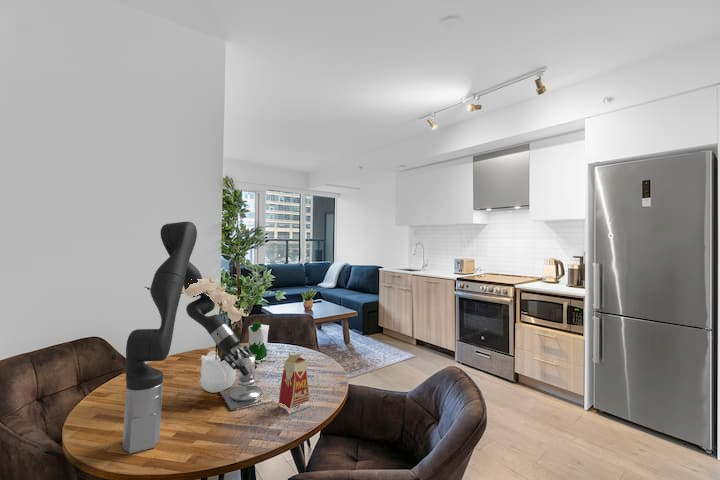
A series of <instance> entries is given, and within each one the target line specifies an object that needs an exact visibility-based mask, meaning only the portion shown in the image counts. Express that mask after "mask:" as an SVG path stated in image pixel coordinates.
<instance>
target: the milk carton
mask: <svg viewBox="0 0 720 480" xmlns="http://www.w3.org/2000/svg"><path fill="white" fill-rule="evenodd" d="M287 355H288V357H287V359H286V360H285V362H284V365H283V370H282V377H281V382H280V388H279V396H278V404H279V403H282V404H285V405H286V406H287V407H288V408H290V409H291V408H293V407H296V406H298V405H300V404H303V403H305V402H308V401H310V402H311V398H310V397H311V396H310V389H309V388H310V387H309V378H308V368H307V359H304V358H303V357H301V355H302V354H301V353H298V354H297V353H296V354H292V353H287Z"/></svg>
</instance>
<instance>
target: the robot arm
mask: <svg viewBox="0 0 720 480" xmlns="http://www.w3.org/2000/svg"><path fill="white" fill-rule="evenodd" d="M159 235H160V239H161V242H162V244H163V247H164V248H165V250H166V252H167V254H168V256H169V257H168V258H166V260H165V261H163V263H162V264H161V265H160V266H159V267H158V268H157V270H156V271H155V273H154V276H153V279H152V282H151V286H150V287H149V288H150V289H149V292H150V297H151V298H152V301H153V303H154V304H155V306H156V308H157V310H158V312H159V315H160V319H161V320H160V327H159V328H141V329H139V328H138V329H134V330H133V331H131V332H130V333H129V335H128V336H127V340H126V345H125V346H126V347H125V380H126V381H125V382H126V383H125V398H124V399H125V400H124V414H123V432H122V450H123V451H125V452H128V454H129V455H131V454H134V453H137V452H138V453H139V452H143V451H146V450H149V449H154V448H155V447H156V445H157V444H158V443H159V441H160V439H161V438H160V437H161V423H162V422H161V420H162V403H163V402H162V401H163V388H164V387H163V386H164V373H163V371H161V370H160V369H158V368H155V367H151V366H150V365H148V364H147V363H146V362H162V361H164V360H166V358H167V357H168V356H169V353H170V350H171V347H172V341H173V334H174V330H175V324H176V316H177V313H178V312H177V311H178V307H179V303H180V299H181V295H182V292H183V289H184V291H185V290H186V289H187V288H188V287H189V285H190V284H193V283H197V282H198V280H197V279H203V277H202V274H201V272H200V270H199V269H198V268H197V267H196V266H195V265H194V264H193V263H192V262H191V261H190V259H191V256H192V254H193V251H194V248H195V245H196V241H197V237H198V230H197V227H196V225H195V223H193V222H192V221H179V222H178V221H177V222H171V223H170V222H169V223H166V224H163V225H162V227H161V228H160V233H159ZM191 279H192V280H191ZM188 283H189V284H188ZM196 297H199V298H196ZM192 298H196V299H195V300H193V301H191V302H190V303H188V304H187V305H186V306H185V307H186V309H185V310H186V314H187V315H188V316H189V318H191V319H193V321H195V322H197V323H198V324H199V325H201V326H202V327H203V328H204V329H205V330H206V332H207V333H208V334H209V335H210V337H211V338H212V341H213V342H214V343H215V344H216V345H217V346H218V347H217V348H219V349H220V351H221V352H222V353H223V354H227V355H226V356H225V357H224V358H223V360H224V361H225V363H226V364H228V365H229V366H230V368H231V369H233V370H234V371H235V370H239V373H240V372H241V373H242V374H243V375H244V376H247V375H248V374H249V371H248V370H247V369H246V367H245V366H244V365H243V363H242V361H241V356H243V355H247V354H251V355H253V354H252V353H251V351H250V350H249V348H248V347H249V345H244V346H242V345H241V344H240V342H241V340H240V338H238V336H237V335H236V333H235V332H234V331H233V329H232V328H231V327H230V326H229V325H228V324H227V323H226V322H225V320H224V319H223V318H222V316H221V315H220V314H212V315H209V316H208V314H209V313H210V312H212V311H213V310H214V309H215V306H216V304H215V303H216V302H215V301H214V302H215V303H214V302H213V301H212V300H211V299H210V297H209V296H207V295H206V294H204V293H201V294H199V295H197V296H193V297H192ZM218 330H219V331H218ZM217 333H218V335H217ZM256 369H258V366H257V364H256V363H255V370H256Z"/></svg>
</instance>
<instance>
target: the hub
mask: <svg viewBox="0 0 720 480" xmlns="http://www.w3.org/2000/svg"><path fill="white" fill-rule="evenodd" d="M241 361H242V363H243V365H244V366H245V367H246V369H247V370H248V371H249V374H248V375H247V376H244V375H243V374H242V373H241V372H240V371H239V376H238V377H239V378H238V379H237V385H239V386H248V385H252V384H254V383H256V377H255V371H256V369H255V364H256V363H255V355H251V354H247V355H243V356H241Z"/></svg>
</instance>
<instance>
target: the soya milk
mask: <svg viewBox="0 0 720 480" xmlns="http://www.w3.org/2000/svg"><path fill="white" fill-rule="evenodd" d="M247 327H248V348H249V350H250V351H251V353H252V354H253V355H255V360H261V359H263V358H264V357H266V356H267V357H268V353H267V352H268V338H269V337H268V335H269V330H270V325H267V324H262V322H260V321H253V322H252V325H249V326H247Z"/></svg>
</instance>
